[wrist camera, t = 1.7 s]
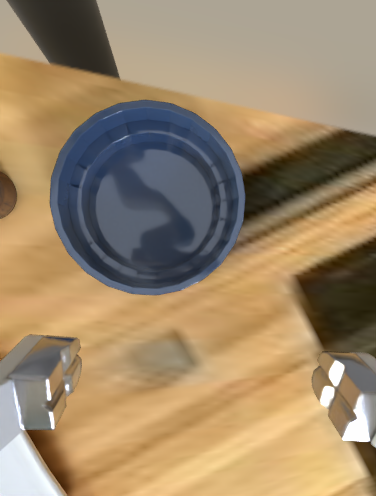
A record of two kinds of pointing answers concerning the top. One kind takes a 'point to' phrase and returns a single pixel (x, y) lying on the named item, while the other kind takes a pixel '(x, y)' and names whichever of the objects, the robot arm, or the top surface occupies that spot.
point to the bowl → (147, 197)
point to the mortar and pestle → (6, 195)
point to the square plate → (26, 470)
